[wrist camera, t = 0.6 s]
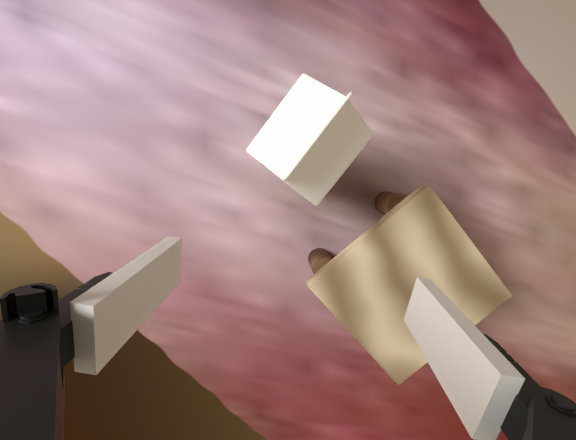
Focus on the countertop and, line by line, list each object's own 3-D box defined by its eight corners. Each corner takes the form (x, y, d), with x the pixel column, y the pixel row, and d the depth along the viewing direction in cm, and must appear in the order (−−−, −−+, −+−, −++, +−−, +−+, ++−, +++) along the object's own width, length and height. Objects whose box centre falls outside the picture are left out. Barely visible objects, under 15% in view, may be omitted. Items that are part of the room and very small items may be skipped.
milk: (259, 162, 36) (235, 144, 14) (287, 124, 35) (307, 46, 14) (295, 191, 37) (324, 215, 15) (323, 154, 36) (396, 125, 15)
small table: (388, 182, 37) (429, 184, 27) (453, 265, 40) (512, 295, 30) (298, 257, 38) (308, 286, 29) (368, 334, 41) (398, 385, 31)
